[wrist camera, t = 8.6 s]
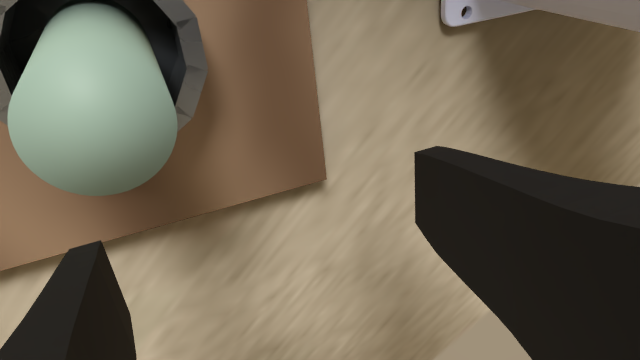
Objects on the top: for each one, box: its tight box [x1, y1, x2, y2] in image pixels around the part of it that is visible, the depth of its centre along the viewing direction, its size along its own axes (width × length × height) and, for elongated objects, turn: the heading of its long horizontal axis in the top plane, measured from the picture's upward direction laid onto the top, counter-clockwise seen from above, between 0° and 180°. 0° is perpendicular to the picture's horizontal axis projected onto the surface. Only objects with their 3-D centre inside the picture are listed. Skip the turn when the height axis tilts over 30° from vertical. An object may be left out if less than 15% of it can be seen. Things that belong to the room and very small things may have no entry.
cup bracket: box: [0, 0, 327, 271], centre depth 15 cm, size 14×14×5 cm
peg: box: [7, 0, 178, 196], centre depth 13 cm, size 3×3×7 cm
